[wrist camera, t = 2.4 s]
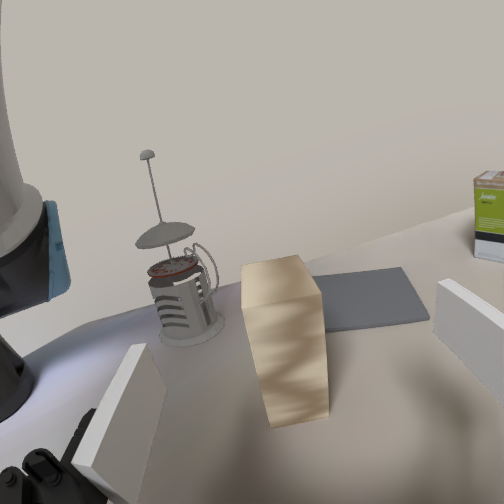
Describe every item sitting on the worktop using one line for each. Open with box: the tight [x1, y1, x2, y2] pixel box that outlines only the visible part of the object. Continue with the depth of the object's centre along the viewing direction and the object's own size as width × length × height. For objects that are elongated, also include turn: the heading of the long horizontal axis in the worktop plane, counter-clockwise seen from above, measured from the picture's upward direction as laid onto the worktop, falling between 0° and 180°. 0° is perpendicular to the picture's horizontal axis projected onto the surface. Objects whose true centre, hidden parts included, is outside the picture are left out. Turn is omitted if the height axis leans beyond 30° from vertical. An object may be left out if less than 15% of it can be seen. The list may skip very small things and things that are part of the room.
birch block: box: [241, 255, 329, 428], centre depth 23 cm, size 5×8×12 cm, turn 3°
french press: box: [135, 150, 224, 347], centre depth 37 cm, size 10×12×25 cm
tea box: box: [474, 171, 504, 263], centre depth 39 cm, size 15×10×15 cm, turn 125°
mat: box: [312, 267, 430, 332], centre depth 40 cm, size 20×16×1 cm
